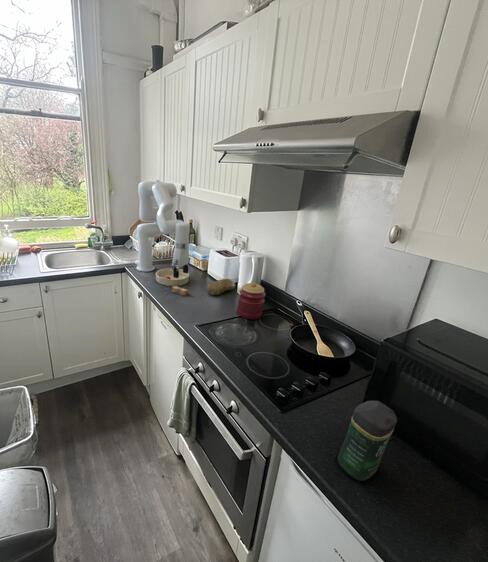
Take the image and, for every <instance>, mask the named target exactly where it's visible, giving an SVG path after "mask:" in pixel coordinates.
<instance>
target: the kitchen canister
mask: <svg viewBox="0 0 488 562" xmlns="http://www.w3.org/2000/svg"><path fill="white" fill-rule="evenodd" d="M238 292H239V296H238V302H237V308H236V311H237V315H239V316H240V317H241V318H243V319H247V320H258V319H260V318H262V317H263V316H262V315H263V313H264V304H265V297H266V292H265V288H264V287H263V286H262V285H260V284H258V283H257V282H255V281H251V282H248V283H245V284H243V285H241V288H240V289H239V291H238Z"/></svg>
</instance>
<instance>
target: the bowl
mask: <svg viewBox="0 0 488 562" xmlns="http://www.w3.org/2000/svg"><path fill="white" fill-rule="evenodd" d="M178 271H179V278H175V277H173V273H174V271H173V269H172V267H168V268H167V267H166V268H161V269H159V270H157V271H156V272H155V281H156V282H157V284H160V285H162V286H167V287H173V286H176V287H180V286H181V287H182V286H184V285H186V284H188V283H189V282H190V272H188V273H183V268H182V269H181V268H179V270H178ZM168 276H169V277H170V278H171V279H166V277H168Z"/></svg>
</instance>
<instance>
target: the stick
mask: <svg viewBox="0 0 488 562" xmlns="http://www.w3.org/2000/svg"><path fill="white" fill-rule="evenodd" d="M189 291H190V290H189V289H186V288H183V287H180V286H171V293H175V294H177V295H181V296H184V297H186V296H189V294H190V293H189Z"/></svg>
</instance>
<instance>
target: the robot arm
mask: <svg viewBox="0 0 488 562" xmlns="http://www.w3.org/2000/svg"><path fill="white" fill-rule="evenodd" d="M177 190H178V189H177V187H176V185H175V184H174V183H173V182H167V181H156V180H155V181H154V180H144V181H140V183H139V184H138V187H137V192H138V197H139V215H138V216H139V220H140V221H141V222H143V223H140V224H138V225H137V227H136V235H137V236H136V237H137V257H138V259H137V260H135V262H134V264H135V265H136V266H135V269H136V271H139V272H142V273H144V272H145V273H146V272H147V273H148V272H153V271H154V270H155V266H154V265H153V243H152V241H151V238H161V236H162V235H174V249H173V254H172V263H171V268H172V269H173V271H174V273H173V277H175V278H179V271H178V270H179V269H181V268H182V270H183V273H189V267H190V262H191V257H190V249H189V248H190V228H191V227H190V224H189V223H188V222H184V221H183V220H182V219H170V220H169V219H168V220H167V219H165V215H164V214H166V213H168V212H170V211H171V210H172V209H173V207H174V201H173V200H172V198H173V199H174V198H176V196H177V194H178V191H177ZM153 197H154V199H155V202H156V204H157V206H154V199H153Z"/></svg>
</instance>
